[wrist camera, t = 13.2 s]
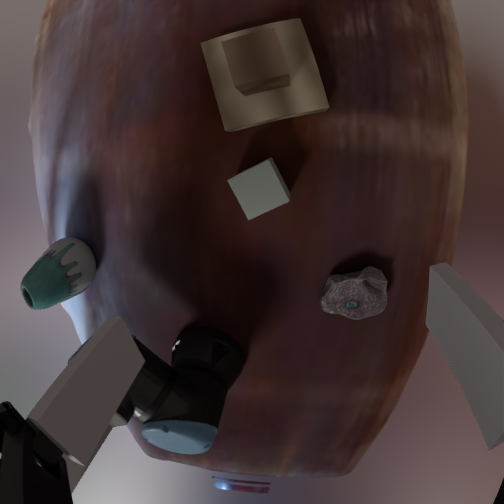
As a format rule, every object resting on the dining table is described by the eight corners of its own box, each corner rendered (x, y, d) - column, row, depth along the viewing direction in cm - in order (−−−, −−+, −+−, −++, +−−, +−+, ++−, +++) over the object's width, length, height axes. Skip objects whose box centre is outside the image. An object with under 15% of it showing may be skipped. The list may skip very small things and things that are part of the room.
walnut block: (245, 96, 32) (234, 86, 26) (233, 58, 30) (221, 41, 24) (290, 85, 31) (289, 73, 24) (277, 47, 29) (274, 28, 22)
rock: (316, 270, 45) (318, 284, 41) (381, 260, 43) (389, 273, 39) (320, 310, 48) (322, 326, 44) (381, 301, 46) (388, 315, 42)
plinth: (232, 132, 39) (225, 131, 34) (210, 52, 34) (200, 43, 29) (324, 111, 36) (329, 107, 31) (299, 30, 31) (300, 17, 26)
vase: (62, 265, 53) (10, 303, 37) (68, 222, 48) (6, 255, 32) (99, 290, 54) (49, 338, 37) (107, 248, 49) (47, 292, 33)
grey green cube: (254, 209, 43) (248, 220, 37) (236, 174, 41) (227, 180, 35) (289, 192, 41) (289, 201, 35) (271, 157, 39) (268, 159, 34)
